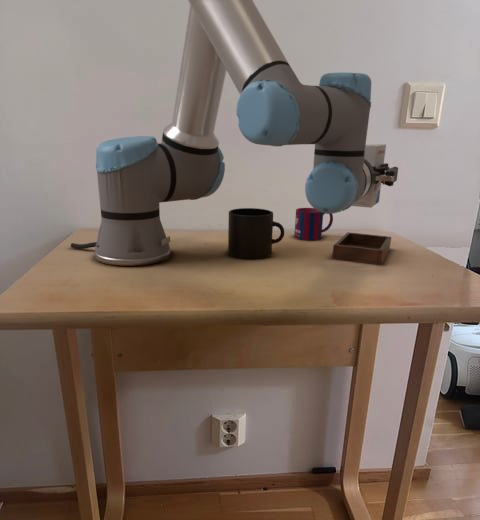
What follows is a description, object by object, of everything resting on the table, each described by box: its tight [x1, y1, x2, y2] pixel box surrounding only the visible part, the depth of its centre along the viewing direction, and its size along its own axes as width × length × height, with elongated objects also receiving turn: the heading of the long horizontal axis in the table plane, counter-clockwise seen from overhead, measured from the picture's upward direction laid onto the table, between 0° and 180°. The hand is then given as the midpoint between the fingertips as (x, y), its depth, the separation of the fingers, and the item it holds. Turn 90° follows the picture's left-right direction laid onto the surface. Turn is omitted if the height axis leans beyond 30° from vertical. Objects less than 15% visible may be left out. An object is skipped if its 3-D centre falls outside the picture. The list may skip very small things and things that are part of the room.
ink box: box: [351, 143, 387, 209], centre depth 99 cm, size 8×5×12 cm, turn 154°
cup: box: [293, 207, 334, 241], centre depth 121 cm, size 7×10×7 cm
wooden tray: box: [331, 231, 392, 266], centre depth 107 cm, size 10×14×3 cm
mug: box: [227, 207, 285, 260], centre depth 104 cm, size 9×12×9 cm
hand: (371, 169), depth 104 cm, fingers closed on ink box, 5 cm apart
